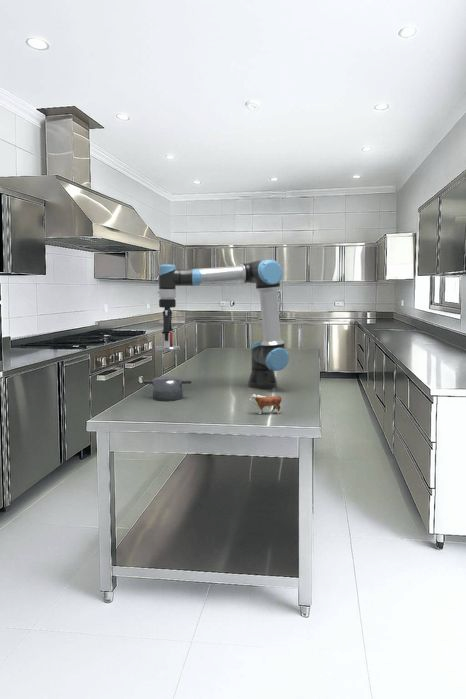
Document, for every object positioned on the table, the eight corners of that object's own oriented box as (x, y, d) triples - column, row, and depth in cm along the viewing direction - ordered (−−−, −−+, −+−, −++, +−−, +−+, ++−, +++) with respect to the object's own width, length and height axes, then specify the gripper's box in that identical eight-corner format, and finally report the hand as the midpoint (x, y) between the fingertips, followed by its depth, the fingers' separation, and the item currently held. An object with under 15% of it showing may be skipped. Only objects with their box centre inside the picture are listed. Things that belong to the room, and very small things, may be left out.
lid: (180, 348, 261) (180, 331, 260) (178, 351, 250) (178, 333, 249) (157, 348, 261) (157, 331, 260) (154, 351, 250) (153, 333, 249)
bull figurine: (248, 412, 230) (248, 393, 229) (280, 411, 231) (280, 392, 230) (249, 415, 226) (250, 395, 225) (282, 414, 227) (282, 394, 226)
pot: (191, 394, 265) (191, 376, 264) (190, 401, 252) (190, 381, 250) (145, 395, 265) (145, 376, 263) (142, 401, 251) (141, 381, 250)
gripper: (161, 297, 264) (161, 343, 266) (156, 299, 241) (157, 349, 243) (177, 298, 264) (177, 343, 267) (173, 299, 241) (174, 349, 244)
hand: (167, 346), depth 255 cm, fingers closed on lid, 11 cm apart
